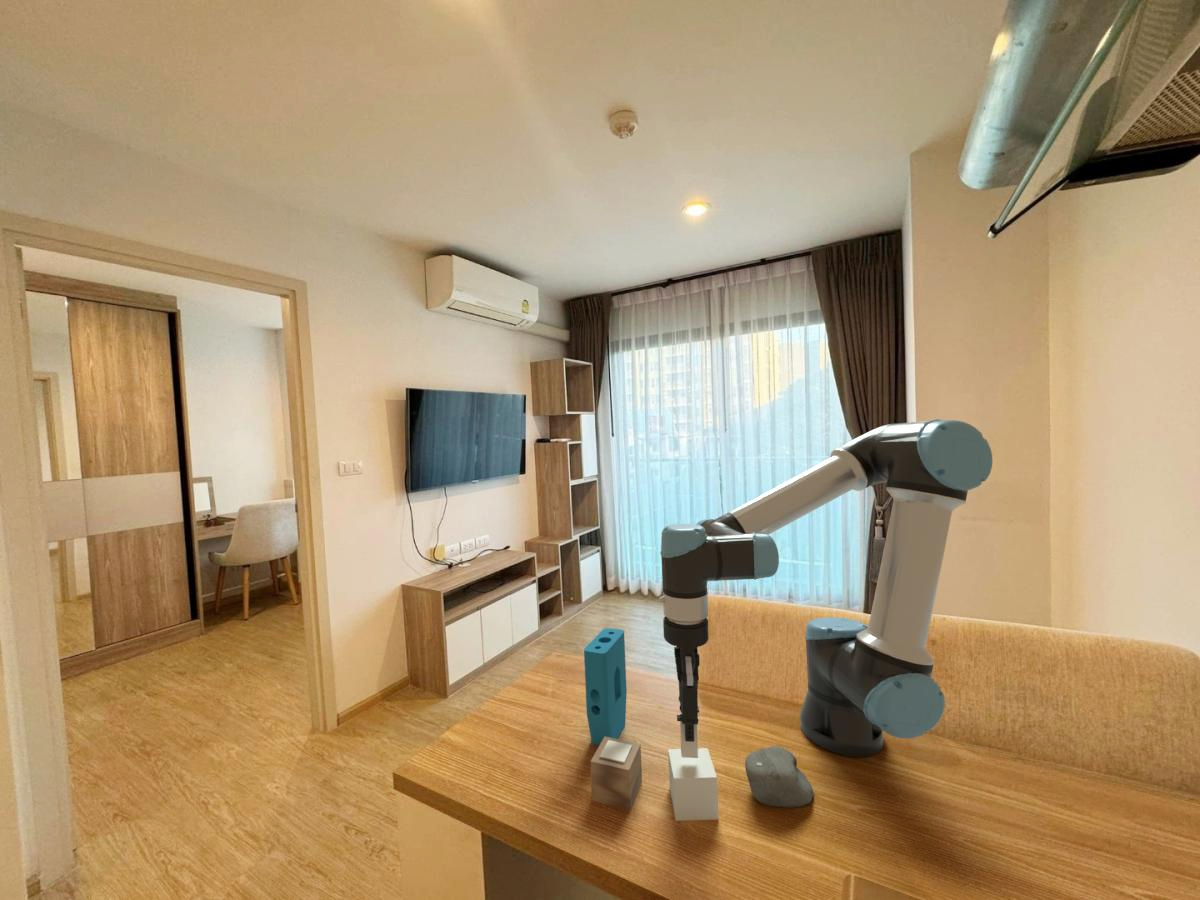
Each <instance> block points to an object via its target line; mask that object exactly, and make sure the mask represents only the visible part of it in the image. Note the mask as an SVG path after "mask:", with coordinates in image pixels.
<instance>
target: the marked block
mask: <svg viewBox="0 0 1200 900" xmlns="http://www.w3.org/2000/svg"><path fill="white" fill-rule="evenodd" d="M641 745H642V744H641V743H637V742H634V741H630V740H624V739H619V738H618V739H615V738H610V737H604V738H603V740H602V742H601V744H600V745H598V747H597V749H596V750H595V753H594V754H593V756H592V758H591V759H590V779H591V782H590V783H591V784H590V785H591V801H592V802H594V803H599V804H603V805H607V806H611V807H614V808H618V809H621V810H625V811H629V812H631V811H632V809H633V807H634V804H635V801H636V798H637V796H638V794H639V790H640V789H641V785H642V783H643V772H642V771H643V769H642V768H643V767H642V746H641Z"/></svg>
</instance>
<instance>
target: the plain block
mask: <svg viewBox="0 0 1200 900" xmlns="http://www.w3.org/2000/svg"><path fill="white" fill-rule="evenodd" d="M667 751H668V752H667V753H668V754H667V756H668V777H669V778H668V779H669V793H670V797H671V803H672V810H673V813H674V819H675V820H674V821H678V822H679V821H708V820H709V821H711V820H716V821H717V820H719V819H720V817H719V795H718V793H719V792H718V776H717V772H716V769H715V767H714V764H713V760H712V758H711V754H710V752H709V749H708V748H707V747H706V748H705V747H703V748H702V747H701V748H698V758H685V757H682V755H681V748H676V749H675V748H670V749H667Z"/></svg>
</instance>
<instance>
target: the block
mask: <svg viewBox="0 0 1200 900" xmlns="http://www.w3.org/2000/svg"><path fill="white" fill-rule="evenodd" d="M625 645H626V644H625V630H623V629H617V628H611V627H610V628H608V627H606V628H605V627H604V628H603V629H602V630H601V631H600V632H599V633H598V634H597V635H596V636H595V637H594V638H593V639H592V640H591V641H590V642H589V643H588V644H587V645H586V646H585V647H584V649H583V655H584V656H583V658H584V678H585V679H584V681H585V683H584V685H585V702H586V703H585V704H586V706H585V707H586V718H587V724H588V729H589V734H590V735H589V736H590V740H591V743H592V744H594V745H598V746H599V745H600V744H601V742H602V740H603V738H604V737H610V738H615V739H619V737H620V735H621V734H622V732H623V731H624V729H625V727H626V718H627V717H626V715H627V714H626V713H627V694H628V693H627V689H628V688H627V670H626V669H627V667H626V646H625Z"/></svg>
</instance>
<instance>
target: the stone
mask: <svg viewBox="0 0 1200 900" xmlns="http://www.w3.org/2000/svg"><path fill="white" fill-rule="evenodd" d="M744 761H745V762H744V765H745V772H746V776H747V780H748V784H749V786H750V789H751V792H752V796H754V798H755V800H757V802H759V803H760V804H762V805H765V806H770V807H776V808H778V807H779V808H785V809H786V808H798V807H799V808H800V807H805V806H807V805H809V804H812V799H813V797H815V793H814V789H813V786H812V784H811V783H810V782H809V781H810V780H809V779H808V778H807V776H806V775H805V774H804V773H803V772H802V771H801V770H800V769H799V768H798V767H797V766H798V765H797V763H798V761H797V758H796V757H795V754H793V753H792V752H791V751H789V750H788V749H785V748H784V747H781V746H777V745H773V746H768V747H763V748H760V749H758V750H755V751H752V752H750V753H749V754H748V755H747V756H746V758H745V760H744Z"/></svg>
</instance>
